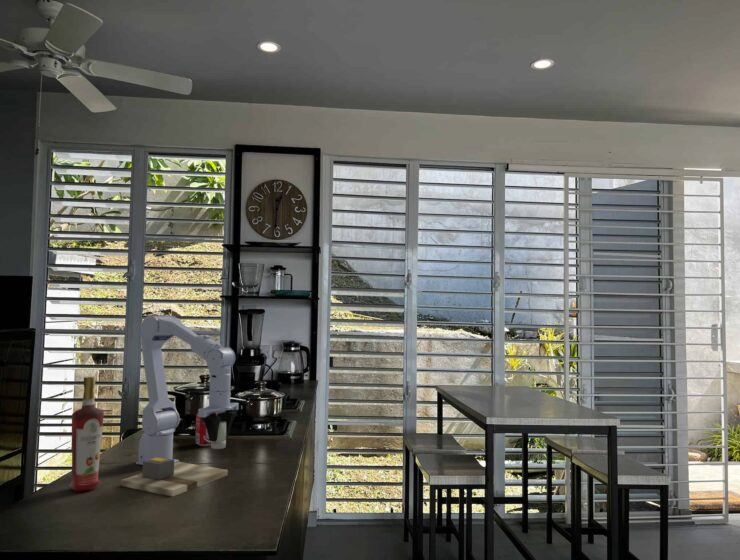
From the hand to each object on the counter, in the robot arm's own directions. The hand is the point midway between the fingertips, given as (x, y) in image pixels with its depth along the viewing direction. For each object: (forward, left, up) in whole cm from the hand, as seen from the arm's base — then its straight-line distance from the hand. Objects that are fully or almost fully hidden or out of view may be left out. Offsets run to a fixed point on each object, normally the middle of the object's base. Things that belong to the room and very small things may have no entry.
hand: (218, 439), depth 152 cm
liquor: (-20, -26, -10) cm, 34 cm away
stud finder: (-8, -14, -8) cm, 18 cm away
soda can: (-27, +25, -10) cm, 38 cm away
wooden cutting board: (-5, -10, -9) cm, 15 cm away
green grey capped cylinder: (0, 0, -2) cm, 2 cm away
